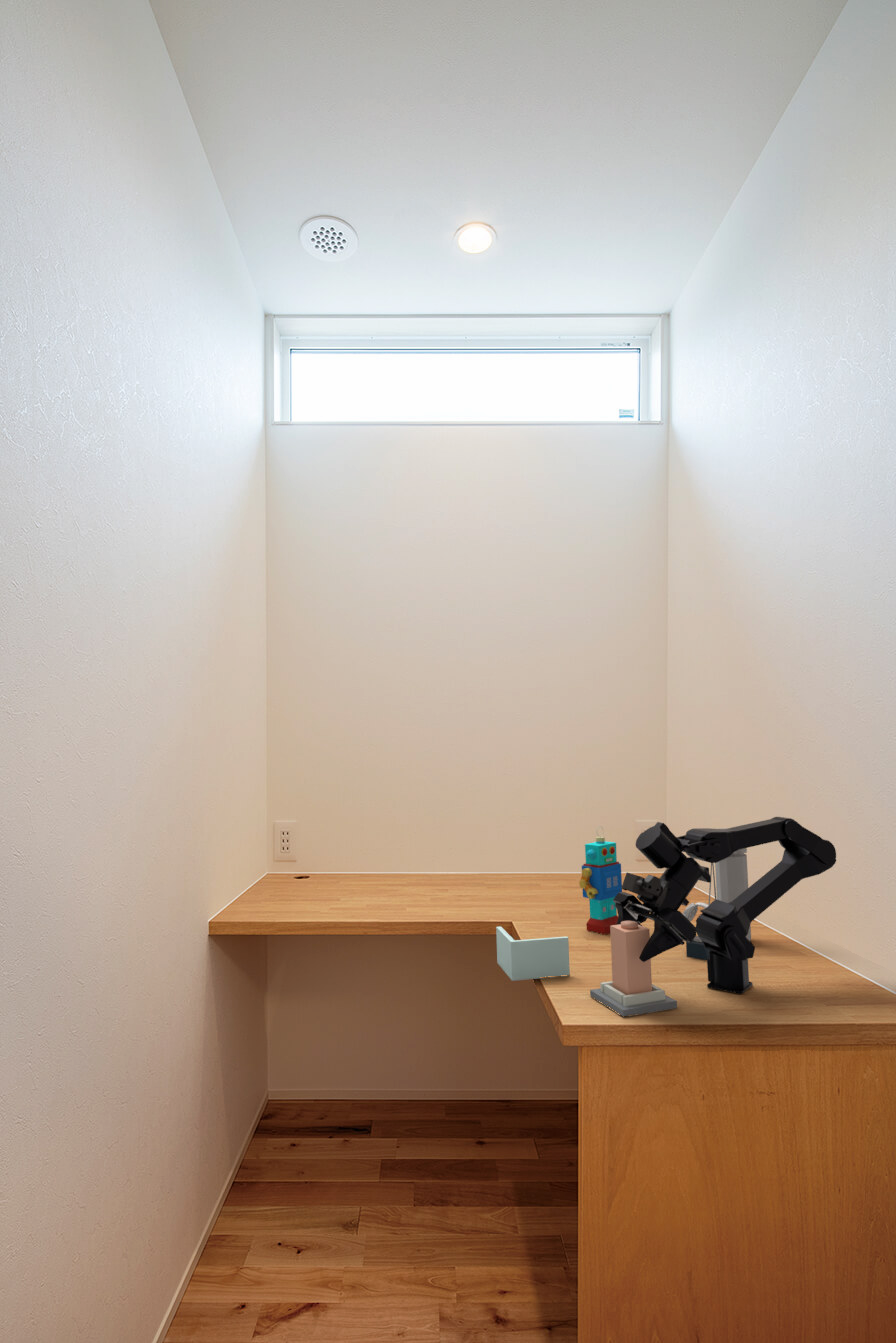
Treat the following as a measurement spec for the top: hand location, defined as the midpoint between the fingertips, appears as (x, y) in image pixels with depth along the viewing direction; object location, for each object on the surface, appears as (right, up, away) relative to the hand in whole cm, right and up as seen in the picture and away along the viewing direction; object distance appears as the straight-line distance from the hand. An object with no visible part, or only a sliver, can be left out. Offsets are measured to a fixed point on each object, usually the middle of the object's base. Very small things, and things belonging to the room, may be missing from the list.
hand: (626, 953), depth 136 cm
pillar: (+1, -7, 0) cm, 8 cm away
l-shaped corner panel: (-15, -11, +20) cm, 27 cm away
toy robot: (+6, -13, +49) cm, 51 cm away
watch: (+22, -10, +26) cm, 36 cm away
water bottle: (+33, -11, +37) cm, 51 cm away
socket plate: (+1, -9, 0) cm, 9 cm away
